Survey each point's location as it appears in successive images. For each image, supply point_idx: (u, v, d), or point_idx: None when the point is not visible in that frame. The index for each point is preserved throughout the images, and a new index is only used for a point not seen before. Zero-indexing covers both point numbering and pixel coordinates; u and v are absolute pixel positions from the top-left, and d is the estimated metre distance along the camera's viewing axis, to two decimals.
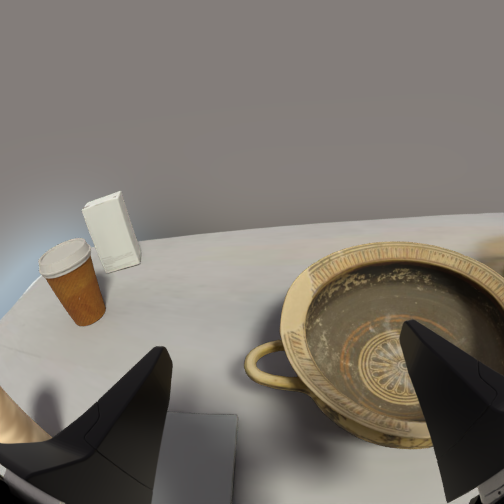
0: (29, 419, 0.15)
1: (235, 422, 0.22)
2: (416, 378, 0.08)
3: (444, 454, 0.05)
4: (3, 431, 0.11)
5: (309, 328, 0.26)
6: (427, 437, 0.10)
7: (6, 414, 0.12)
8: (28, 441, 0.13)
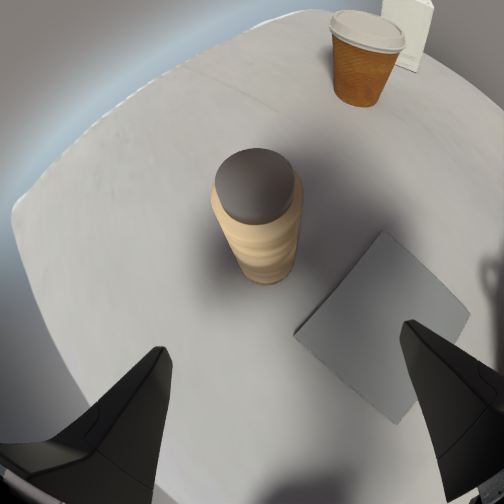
0: None
1: (466, 320, 0.20)
2: (416, 378, 0.08)
3: (444, 454, 0.05)
4: (272, 247, 0.16)
5: None
6: None
7: (294, 228, 0.16)
8: (286, 255, 0.19)
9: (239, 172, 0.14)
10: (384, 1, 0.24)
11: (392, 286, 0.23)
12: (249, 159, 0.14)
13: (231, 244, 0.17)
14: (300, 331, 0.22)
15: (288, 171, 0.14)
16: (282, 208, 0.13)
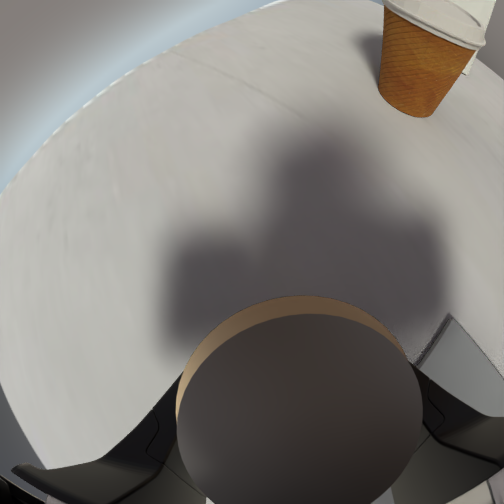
0: None
1: None
2: None
3: None
4: None
5: None
6: None
7: None
8: None
9: (257, 414, 0.04)
10: None
11: None
12: (290, 366, 0.04)
13: None
14: None
15: (409, 408, 0.03)
16: None
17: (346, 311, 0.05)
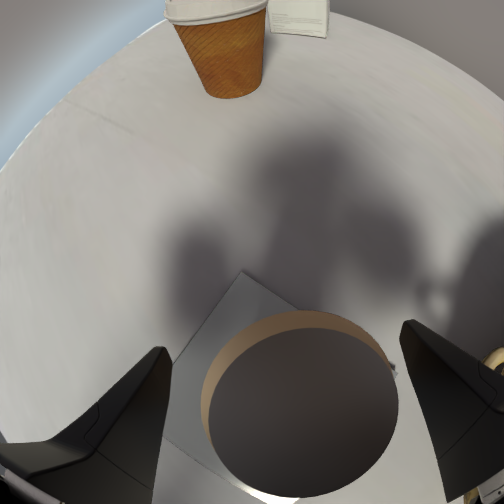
0: None
1: None
2: (416, 378, 0.08)
3: (444, 454, 0.05)
4: None
5: None
6: None
7: None
8: None
9: (271, 403, 0.05)
10: None
11: None
12: (295, 366, 0.05)
13: None
14: None
15: (387, 399, 0.05)
16: None
17: (339, 323, 0.07)
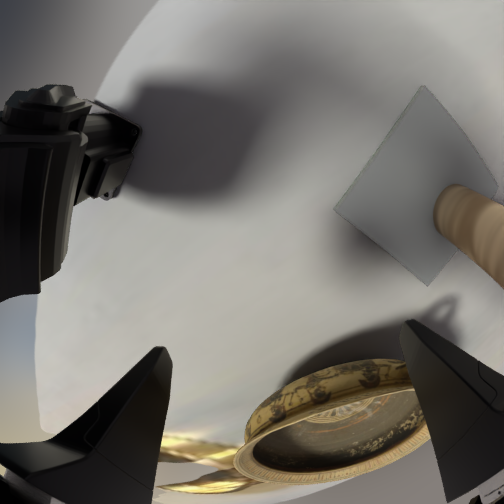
0: None
1: (423, 281, 0.23)
2: (416, 378, 0.08)
3: (444, 454, 0.05)
4: (498, 267, 0.12)
5: None
6: (296, 421, 0.17)
7: None
8: (475, 259, 0.15)
9: None
10: None
11: None
12: None
13: None
14: (429, 92, 0.15)
15: None
16: None
17: None
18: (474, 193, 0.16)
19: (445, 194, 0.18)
